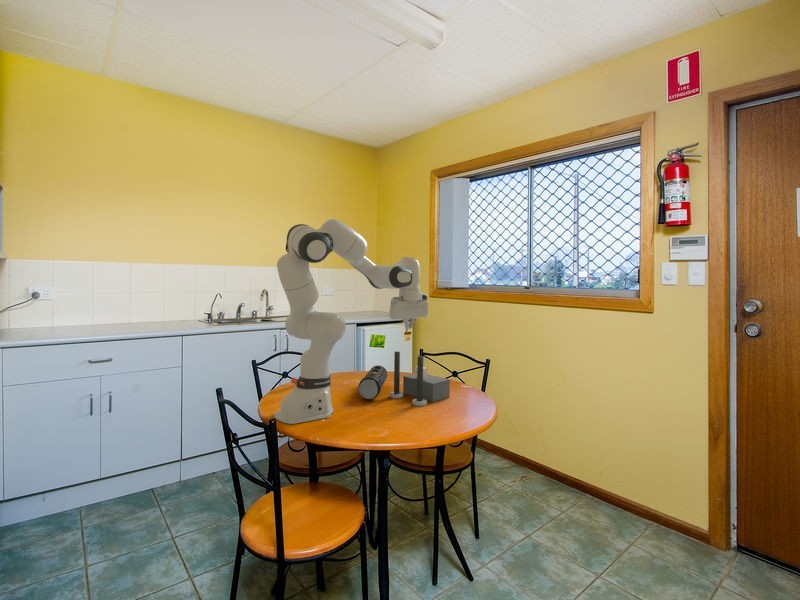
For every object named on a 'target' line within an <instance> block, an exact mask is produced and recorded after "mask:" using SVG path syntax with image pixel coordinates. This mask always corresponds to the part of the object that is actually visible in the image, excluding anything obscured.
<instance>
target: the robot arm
mask: <svg viewBox="0 0 800 600" xmlns="http://www.w3.org/2000/svg"><path fill="white" fill-rule="evenodd" d="M285 251H286V252H287V253H285V254H283V255H282V256H280V258H279V259H277V262H276V269H277V273H278V277H279V281H280V284H281V286H282V289H283V291H284V293H285V296H286V299H287V301H288V304H289V308H290V310H289V311H290V312H289V315H287V317H286V320H285V324H284V326H285V330H286V333H287V334H288V335H289V336H292V337H294V338H297V339H299V340H308V341H309V340H310V346H309V349H307V350H306V351H304V352H303V353H302V354H301V355H300V361H299V362H300V368H299V370H300V375H299V376H298V378H296V377H291V379H290V382H291V383H292V384H294V385H295V387H294V388H293V389H292V390H291V391H289V393H288V394H286V395H285V396H284V397H283V398H282V400H281V402H280V407H279V410H278V411H275V412H273V418H274V419H275V418H276V419H275V420H277V421H278V422H281V423H284V424H289V425H294V424H299V423H305V422H311V421H317V420H322V419H323V420H324V419H328V418H331V416H332V414H333V413H334V411H335V410H334V408H333V403H332V398H331V397H332V396H331V390H330V389H331V388H330V387H331V382H332V381H331V378H332V377H331V374H330V367H331V366H330V365H331V355H332V351H333V350H334V348H335V345H336V344H337V342H338V341H340V340H341V339H342V338H343V337H344V336H345V333H346V328H347V327H346V322H345V319H344V317H342V315H339V314H336V313H334V312H329V311H328V312H326V311H317V310H315V308H314V305H315V304H316V303H317V302H318V300H319V294H320V293H319V291H318V288H317V286H316V283H315V281H314V279H313V275H312V273H311V271H310V264H317V263H320V262H322V261H324V260H325V259H326V258H327V257H328V256H329V254H331V252H333V253H335V254H337V255H338V256H339V257H340V258H341V259H343V260H345V261H347V262H348V264H350V265H351V266H352V267H353V268H355V270H357V271H358V272H359V273H361V274H362V275H363V276H364V277H365V278H366V280H367V281H368V283H370V285H371V286H372V287H373V288H374V289H377V290H383V289H392V290H393V289H395V290H397V289H398V296H393V297H392V298H391V299H390V306H389V315H388V316H389V318H390V320H391V319H392V320H402V321H403V324H404V329H405V330H412V329H413V328H414V327H413V326H414V323H415V321H416V319H417V318H418V319H419V318H427V316H428V314H429V303H428V302H429V301H428V299H429V296H428V295H427V294H425V293H423V292H421V287H420V281H421V268H420V267H421V265H420V263H419V262H420V261H419V260H418V259H416V258H413V257H407V256H406V257H402V258H401V259H400V260H399V261H398V262H396V263H393V264H392V265H391V264H390V265H386V264H385V265H384V264H383V265H381V264H375V262H373V261H372V260H370V259H369V258H368V257H367V256H366V254H367V251H368V242H367V240H366V239H365V237H364V236H363V235H361V233H359V232H358V231H356V230H355V229H353V228H352V227H350V226H349V225H348V224H346V223H344V222H342V221H339V220H338V219H335V218H331V219H327V220H326V221H325V222H324V223H323V224H322V225H321V227H320V228H317V229H316V228H315V227H312V226H309V225H307V224H304V223H301V224H300V223H299V224H295V225H293V226H291V227H290V228H289V230H288V232H287V234H286V244H285Z"/></svg>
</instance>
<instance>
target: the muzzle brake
mask: <svg viewBox="0 0 800 600" xmlns="http://www.w3.org/2000/svg"><path fill="white" fill-rule="evenodd" d="M387 379H388V371H387V369H386V368H385V367H384V366H383V365H379V364H378V365H373V366H372V367H371V368H370V369H369V371H368V372H367V373H366V374H365V376H364V377H362V379H361V380H360V381H359V383H358V385H357V390H358V393H359V395H360V396H361V397H363V398H364V399H366V400H373V399H376V398H377V397H378V396H379V394H380V392H381V391H382V388H383V386H384V385H385V382H386V380H387Z"/></svg>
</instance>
